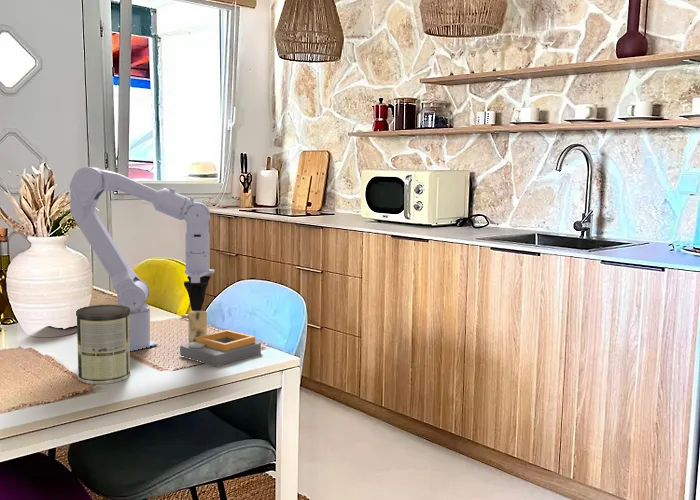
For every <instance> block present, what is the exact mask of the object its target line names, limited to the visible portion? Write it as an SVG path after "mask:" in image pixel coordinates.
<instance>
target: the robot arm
mask: <svg viewBox="0 0 700 500" xmlns="http://www.w3.org/2000/svg"><path fill="white" fill-rule="evenodd" d="M69 191H70V194H69V195H70V197H69V198H70V201H69V202H70V204H69V205H70V206H69V213H70V214H71V216H72V218H73V220H74V221H75V222H76V224H77V226H78V228H79V229H80V231H81V232H82V234H83V236H84V237H85V239H86V240H87V243H88V244H89V245H90V248H91V249H92V251H94V253H95V256H96V257H97V258H98V260H99V261H100V263H101V265H102V267H103V268H104V270H105V271H106V273H107V274H108V276H109V278H110V279H111V283H112V287H113V289H114V290H115V292H116V295H117V296H116V297H117V298H116V299H117V303H118V305H122V306H126V307H129V308H130V313H129V329H130V351H131V352H134V350H135V351H139V350H142V348H143V349H147V348H151V347H150V346H152V347H156V346H158V345H159V343H158V342H155V341H152V340H151V329H150V328H151V320H150V319H151V313H150V312H151V310H150V309H151V308H150V306H149V305H148V303H147V302H146V301H147V299H148V298H149V295H150V288H149V285H148V283H147V282H145V281H144V280H142V279H141V278H139V276H138V275H137V274H136V272H135V271H134V270H133V269H132V268H131V267H130V266H129V264H128V262H127V260H126V259H125V258H124V256H123V254H122V253H121V251H120V249H119V248H118V246H117V244H116V243H115V241H114V239H113V238H112V236H111V234H110V232H108V230H107V228H106V226H105V225H104V223H103V222H102V219H101V218H100V217H99V215H98V214H97V212H96V207H97V204H98V201H99V199H100V197H101V195H102V194H103V193H104V192H113V191H115V192H116V191H120V192H123V193H125V194H129V195H130V196H132V197H133V196H134V197H136V198H139V199H141V200H144V201H146V202H149V203H151V204H152V206H153V207H154V210H155V211H157V212H159V213H162V214H164V215H167V216H169V217H172V218H174V219H176V220H179V221H182V220H184V221H185V222H186V232H185V244H184V245H185V247H184V248H185V269H184V274H185V275H187V276H186V279H188V280H185V281H183V286H184V288H185V289H186V292H187V295H188V299H189V305H190V309H191V311H202V308H203V304H204V302H205V298H206V290H207V287H208V285H209V281H210V279H211V275H212V274H215V269H210V265H211V263H210V261H211V260H210V258H211V257H210V255H211V253H210V251H211V248H210V247H211V241H210V240H211V239H210V238H211V233H210V232H209V231H210V225H209V222H210V219H211V213H210V209H209V207H208V206H207V205H206V204H205V203H203V201H200V200H195V197H193V196H190V197H188V196H185V195H183V194H180V193H179V192H176V189H175V188H173V187H170V188H169V189H168V188H166V187H164V188H162V189H159V190H156V189H154V188H152V187H150V186H148V185H145V184H144V183H141V182H139V181H136V180H134V179H132V178H130V177H128V176H126V175H123V174H121V173H118V172H114V171H111V170H107V169H103V168H100V167H98V166H84V167H81V168H79V169H77V170H76V171H75V172H74V174H73V176H72V179H71V181H70V183H69ZM155 345H156V346H155ZM146 347H147V348H146ZM138 349H139V350H138Z"/></svg>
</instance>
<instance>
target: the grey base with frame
mask: <svg viewBox="0 0 700 500" xmlns="http://www.w3.org/2000/svg"><path fill="white" fill-rule="evenodd" d="M261 350H262V346H261V342H258V341H256V336H255V335H250V334H246V333H241V332H238V331H233V330H228V329H225V330H220V331H217V332H213V333H207V335H204V336H199V337H196V342H192V343H189V342H188V343H185V344H183V345H182V344H181V345H180V346H179V356H180V355H181V356H184V357H187V358H191V359H194V360H198V361H201V362H203V363H202V364H204V365H209V366H211V367H212V366H213V367H216V368H217V367H220V366H224V365H227V364H230V363H233V362H237V361H241V360H242V359H243V360H244V359H248V358H251V357H254V356H257V355H260V354H261V353H262V351H261ZM184 357H183V358H184ZM187 358H186V359H187ZM191 359H190V360H191ZM194 360H193V361H194ZM198 361H197V362H198ZM201 362H200V363H201Z"/></svg>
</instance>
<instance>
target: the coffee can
mask: <svg viewBox="0 0 700 500" xmlns="http://www.w3.org/2000/svg"><path fill="white" fill-rule="evenodd" d="M129 313H130V308H129V307H126V306H122V305H119V304H96V305H95V304H94V305H88V306H85V307H83V308H80V309H78V310H77V311H76V316H77V327H76V331H77V335H76V337H77V338H76V339H77V372H78V373H77V374H78V377H77V379H78V381H79V380H80V381H79V382H81V381H82V382H81V383H83V382H86V383H85V384H87V383H92V384H91V385H107V384H113V383H114V384H115V383H119V382H121V381H125V380H127V379H128V378H130V376H131V352H130V329H129Z"/></svg>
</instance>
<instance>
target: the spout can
mask: <svg viewBox="0 0 700 500" xmlns="http://www.w3.org/2000/svg"><path fill="white" fill-rule="evenodd" d="M180 318H181V319H183V320H184V319H187V320H188V321H187V322H188V323H187V324H188V328H187V329H188V331H187V333H188V335H187V336H188V337H187V338H188V341H187V342H188V344H189V343H192V342H196V337H199V336H204V335H208V312H207V311H205V310H201V311H192V310H191V311H188V314H182V315H181V317H180Z"/></svg>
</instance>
